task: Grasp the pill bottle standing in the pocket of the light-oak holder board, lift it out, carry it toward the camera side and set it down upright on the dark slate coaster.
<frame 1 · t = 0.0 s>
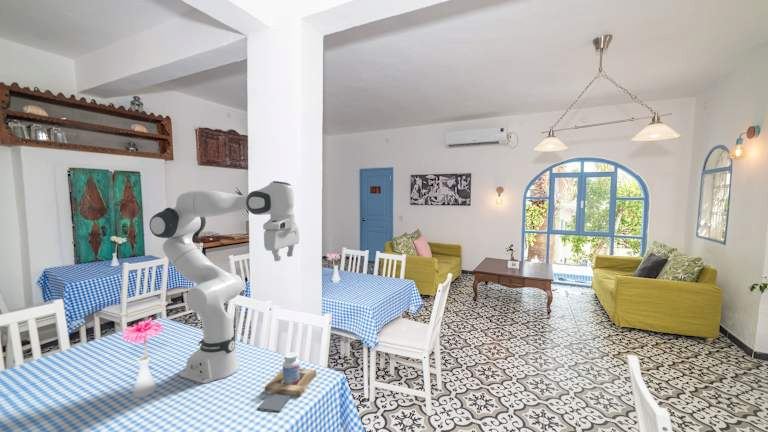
hand: (283, 258, 121), 48 cm above the table, fingers open, 8 cm apart
holder: (291, 383, 120), on the table
coaster: (274, 403, 108), on the table
pill bottle: (291, 383, 120), resting in holder
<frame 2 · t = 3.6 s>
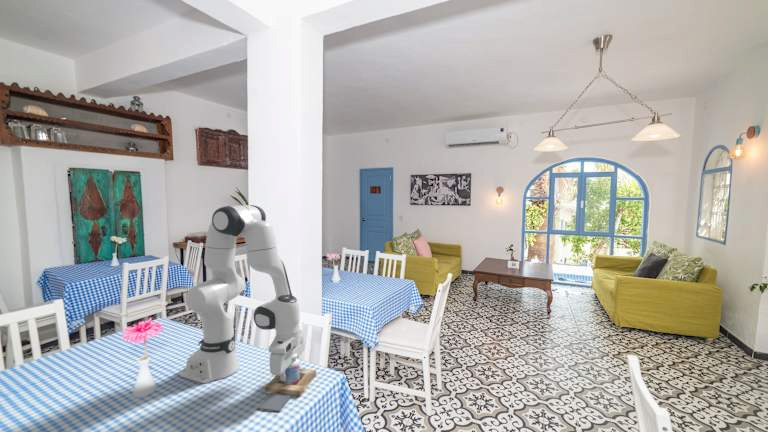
hand: (289, 373, 120), 4 cm above the table, fingers open, 7 cm apart
pill bottle: (291, 383, 120), resting in holder, touching gripper
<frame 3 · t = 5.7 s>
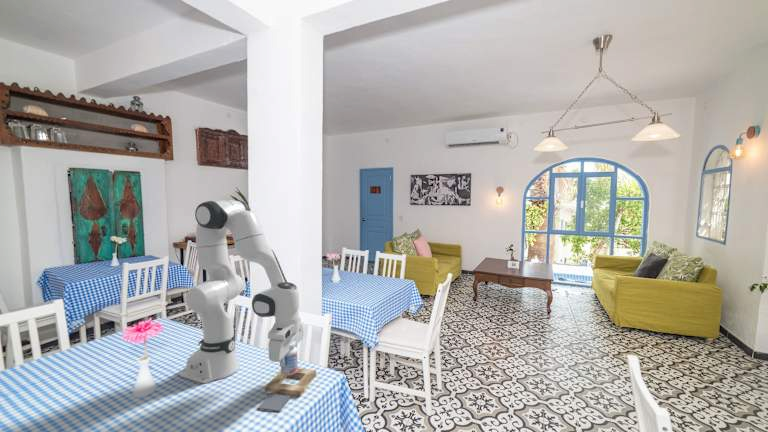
hand: (288, 360, 119), 9 cm above the table, fingers closed on pill bottle, 6 cm apart
pill bottle: (289, 371, 120), point 5 cm above the table, touching gripper
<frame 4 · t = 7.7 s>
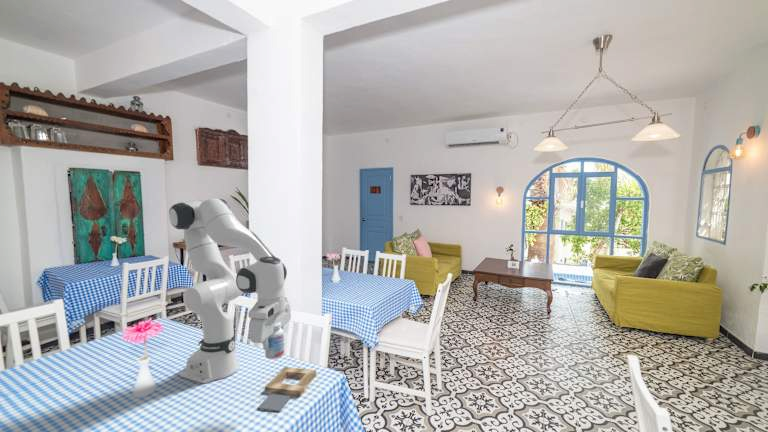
hand: (273, 343, 108), 21 cm above the table, fingers closed on pill bottle, 6 cm apart
pill bottle: (275, 356, 108), point 17 cm above the table, touching gripper
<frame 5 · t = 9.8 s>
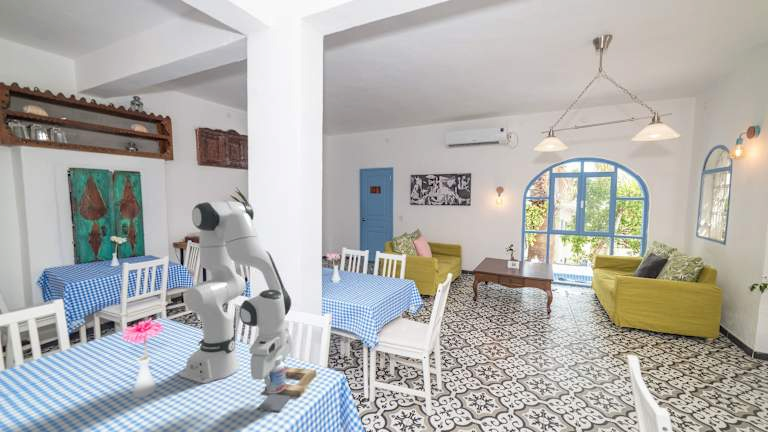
hand: (274, 377, 108), 9 cm above the table, fingers closed on pill bottle, 6 cm apart
pill bottle: (276, 389, 108), point 5 cm above the table, touching gripper
when the fingers open (5 cm above the table, at t = 11.6 s): pill bottle stays where it is, resting on coaster.
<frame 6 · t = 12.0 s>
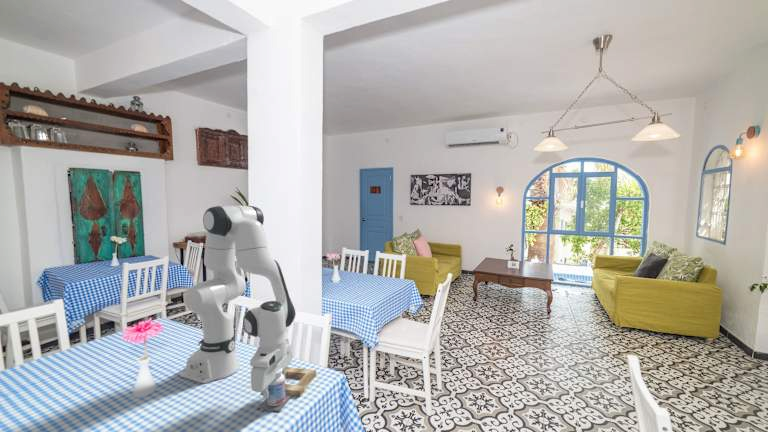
hand: (274, 388, 108), 5 cm above the table, fingers open, 8 cm apart
pill bottle: (276, 401, 108), resting on coaster
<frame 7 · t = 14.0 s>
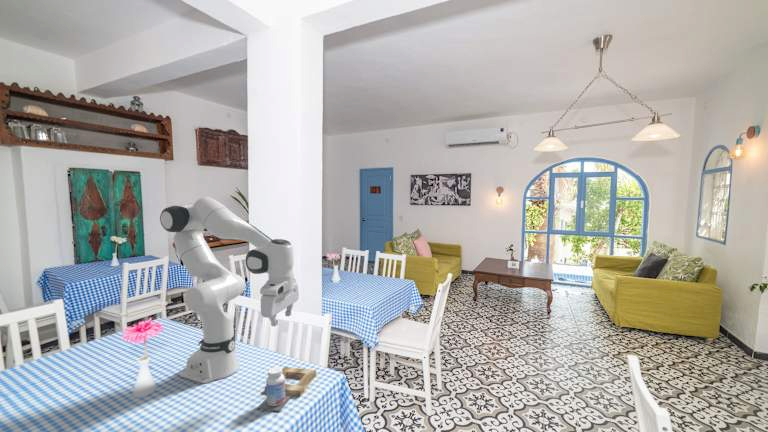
hand: (281, 320, 115), 26 cm above the table, fingers open, 8 cm apart
nothing on the table moved.
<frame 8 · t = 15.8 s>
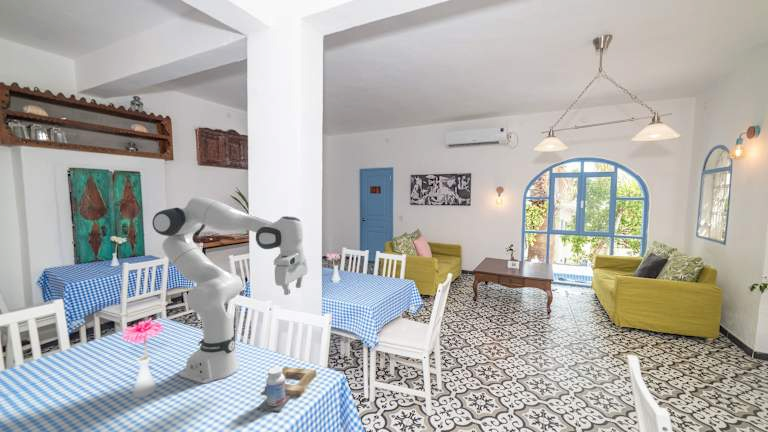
hand: (293, 290, 126), 34 cm above the table, fingers open, 8 cm apart
nothing on the table moved.
at the end: pill bottle inside the target area on the coaster (0.4 cm from its centre), point 0.4 cm above the coaster's base; pill bottle tilted 0°; the gripper is holding nothing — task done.
